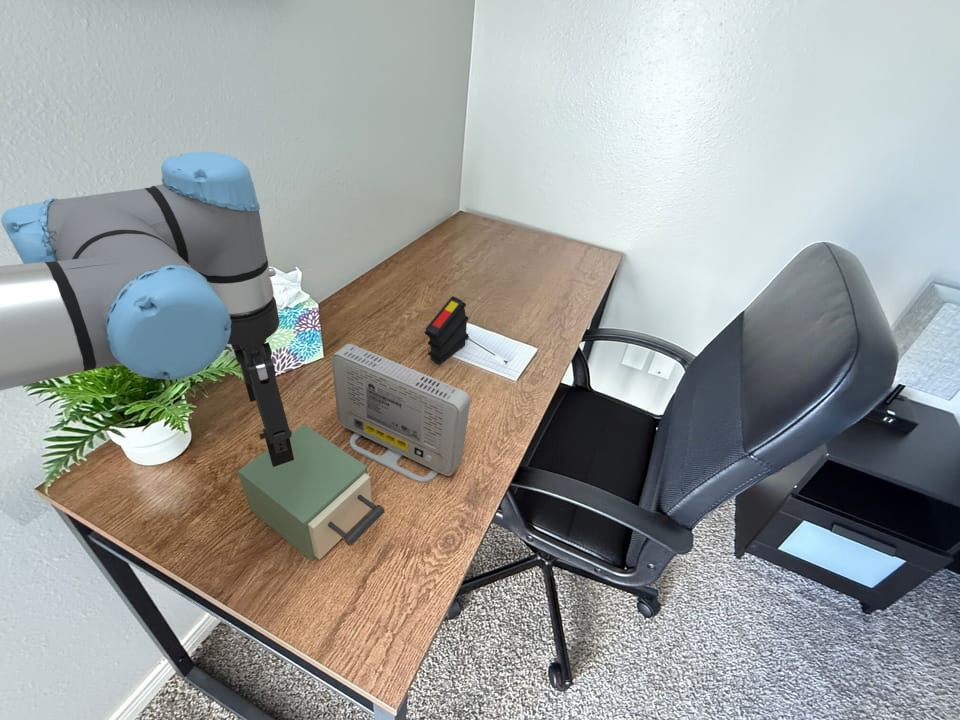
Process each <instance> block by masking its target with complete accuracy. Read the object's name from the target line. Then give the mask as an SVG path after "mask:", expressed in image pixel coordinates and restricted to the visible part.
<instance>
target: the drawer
mask: <svg viewBox="0 0 960 720" xmlns="http://www.w3.org/2000/svg"><path fill="white" fill-rule="evenodd" d="M372 500H373V499H372V484H371V476H370V475H369V474H368V475H367V474H366V473H364V474H363V475H362V476H361V477H360V478H358V479H357V480H355V481H354V482H353V483H352V484H351V485H350V486H349V487H347V488H346V489H345V490H344V491H343V492H342V493H341V494H340V495H339V496H337V497H336V498H335V499H334V500H333V501H332V502H331V503H330V504H328V505H327V506H326V507H325V508H324V509H323V510H322V511H321V512H319V513H318V514H317V515H316V516H315V517H314V518H313V519H312V520H310V521H309V522H308V528H309V533H310V537H311V542H312V547H313V551H314V556H315V557H316V559H318V560H322V558H323V557H324V556H326V554H327V553H329V552H330V551H331V550H332V549H333V548H334V547H335V546H336V545H337V543H338V542H340V540H342V539H343V541H344V543H345V544H346V545H347V546H348V547H352V546H353V545H354V544H355V543H356V542H357V541H358V540H359V539H360V538H361V537H362V536H363V535H364V534H366V532H367V531H368V530H369V529H370V528H371V527H372V526H373V525H374V524H375V523H376V522H377V521H378V520H379V518H381V517H382V516H383V515H384V513H385V512H386V511H385V508H384V507H383V506H382V505H381V504H375V503H373V501H372Z"/></svg>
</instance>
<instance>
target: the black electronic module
mask: <svg viewBox="0 0 960 720" xmlns="http://www.w3.org/2000/svg"><path fill="white" fill-rule="evenodd" d="M466 306H467V304H466V302H464V301H463V300H462V299H460V298H458V297H457V296H454V295H451V297H450V298H449V299H448V300H447V302H446V303H444V305H443V306H442V308H441V309H440V310H439V312H437V314H436V315H435V316H434V318H433V319H432V320H431V321H430V322H429V324H427V326H426V327H425V331H424V335H425V336H428V338H429V340H428V342H427V345H429V346H430V350H429V351H428V353H427V354H428V356H430V360H431V361H433V362H434V363H436V364H438V365H441V364H442V363H444V362H445V361H446V360H448V359H449V358H451V357H452V356H453V355H454V354H456V353H458V351H459V350H461V349H462V348H464V347H465V346H466V342H467V340H468V338H469V333H467V322H468V321H469V316H467V315H466V314H467V313H466Z"/></svg>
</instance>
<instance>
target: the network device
mask: <svg viewBox="0 0 960 720" xmlns="http://www.w3.org/2000/svg"><path fill="white" fill-rule="evenodd" d="M330 360H331V369H332V378H333V379H332V380H333V386H334V387H333V389H334V396H335V404H336V405H335V406H336V414H337V415H336V416H337V420H338V422H339V424H340V425H341V426H342V427H344V428H346V429H347V430H350V431H352V432H353V434H352V435H351V436H350V440H349V445H350V448H351V450H352V451H353V452H354V453H357V454H359V455H361V456H363V457H365V458H367V459H369V460H371V461H373V462H375V463H377V464H379V465H381V466H383V467H385V468H387V469H389V470H391V471H393V472H395V473H397V474H400V475H402V476H403V477H406V478H408V479H410V481H413V482H416V483H421V484H424V483H429V482H431V481H433V480H434V479H436V477H437V475H438V474H441V475H444V476H447V477H450V476H452V475H453V474H454V472H455V471H456V469H457V468H458V466H459V465H460V464H461V462H462V461H463V456H464V448H465V442H466V436H467V428H468V420H469V413H470V407H471V406H470V404H471V396H470V395H469V394H468V393H467V392H466V391H464V390H463V389H461V388H458V387H456V386H454V385H451V384H448V383H446V382H444V381H441V380H439V379H437V378H434V377H432V376H429V375H427V374H425V373H423V372H420V371H418V370H415V369H412V368H410V367H407V366H405V365H403V364H401V363H398V362H396V361H393V360H392V359H391V360H390V359H388V358H386V357H383V356H381V355H379V354H376V353H374V352H372V351H369V350H367V349H364V348H362V347H359V346H357V345H355V344H352V343H346V344H345V345H344V346H343V347H341V348H339V349H338V350H337V351H336V352H334V354H332V355H331V357H330ZM361 437H364V438H367V439H369V440H370V441H373V442H375V443H377V444H379V445H381V446H383V447H384V448H387V450H386V451H385V453H383V454H381V455H378V454H375V453H373V452H371V451H370V450H369V451H368V450H366V449H364V448H363V447H360V446H358V445H357V444H356V442H358V440H359V439H360V438H361ZM403 456H404V457H406V458H408V459H410V460H412V461H415V462H417V463H418V464H421V465H423V466H425V467H427V468H429V469H431V470H430V471H429V473H428V474H427V475H425V476H420V475H418V474H416V473H414V472H412V471H410V470H408V469H406V468H404V467H401V466H399V464H398V462H399V461H400V460H401V459H402V457H403Z"/></svg>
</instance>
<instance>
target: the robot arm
mask: <svg viewBox="0 0 960 720" xmlns="http://www.w3.org/2000/svg"><path fill="white" fill-rule="evenodd" d="M160 170H161V175H162V176H161V179H160V180H161V184H157V185H152V186H151V187H150V186H149V187H144V188H137V189H129V190H120V191H113V192H106V193H98V194H91V195H90V194H89V195H83V196H75V197H68V198H67V197H66V198H47V199H46V200H45V201H40V202H39V201H38V202H34V203H31V204H25V205H19V206H16V207H11V208H8V209H6V210H5V211H4V212H3V213H2V215H1V219H0V221H1V224H2V227H3V229H4V231H5V232H6V234H7V236H8V238H9V240H10V242H11V243H12V245H13V247H14V249H15V251H16V252H17V254H18V256H19V258H20V261H21V262H22V263H19V264H17V263H16V264H8V265H0V391H1V392H2V391H5V390H9V389H14V388H18V387H21V386H27V385H31V384H34V383H35V384H36V383H40V382H43V381H48V380H49V381H50V380H52V379H57V378H61V377H66V376H71V375H74V374H75V375H76V374H79V373H82V372H87V371H92V370H96V369H104V368H107V367H111V366H112V367H113V366H117V365H122V366H123V367H124V368H127V369H128V370H130V371H131V372H132V373H134V374H137V375H139V376H141V377H142V378H143V377H144V378H148V379H157V380H166V381H171V380H172V381H173V380H179V379H183V378H187V377H188V378H189V377H191V376H193V375H195V374H197V373H199V372H201V371H203V370H204V369H207V368H208V367H209V366H210V365H212V364H213V363H214V362H216V360H217V359H219V357H221V355H222V354H223V352H224V350H226V347H227V345H230V346H231V348H232V350H233V353H234V356H235V360H236V362H237V363H238V364H239V365H240V369H241V373H242V377H243V380H244V381H243V382H244V384H245V388H246V392H247V395H248V399H249V402H250V403H253V402H256V405H257V409H258V412H259V416H260V419H261V422H262V425H263V429H262V433H259V434H258V436H259V439H260V440H265V443H266V446H267V450H268V451H269V455H270V459H271V463H272V466H273V467H275V466H278V465H281V464H284V463H287V462H290V461H293V460H294V456H293V452H292V447H291V442H290V437H291V436H292V435H291V434H292V430H291V429H290V426H289V422H288V419H287V414H286V412H285V411H286V410H285V408H284V405H283V400H282V396H281V394H280V390H279V386H278V381H277V379H276V369H275V365H274V363H273V359H272V355H273V351H272V348H271V345H270V342H269V341H268V342H267V340H268V339H269V338H270V337H271V336H272V335H274V334H275V332H277V330H278V329H279V326H280V316H279V311H278V306H277V305H278V304H277V300H276V298H275V295H274V293H275V292H274V286H273V281H272V279H271V278H270V277H275V276H276V274H277V273H276V272H277V271H276V270H275V268H274V267H270V266H269V260H268V256H267V250H266V246H265V245H266V244H265V238H264V232H263V225H262V219H261V214H260V210H261V209H260V203H259V201H258V197H257V193H256V189H255V184H254V182H253V178H252V176H251V172H250V169H249V167H248V166H247V165H246V164H245V163H244V162H243V161H242V160H240V159H238V158H237V157H235V156H232V155H230V154H225V153H222V152H215V151H214V152H213V151H212V152H211V151H194V152H193V151H192V152H184V153H180V155H173V156H170V157H167V158H166V159H165V160H163V162H162V163H161V166H160Z"/></svg>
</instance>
